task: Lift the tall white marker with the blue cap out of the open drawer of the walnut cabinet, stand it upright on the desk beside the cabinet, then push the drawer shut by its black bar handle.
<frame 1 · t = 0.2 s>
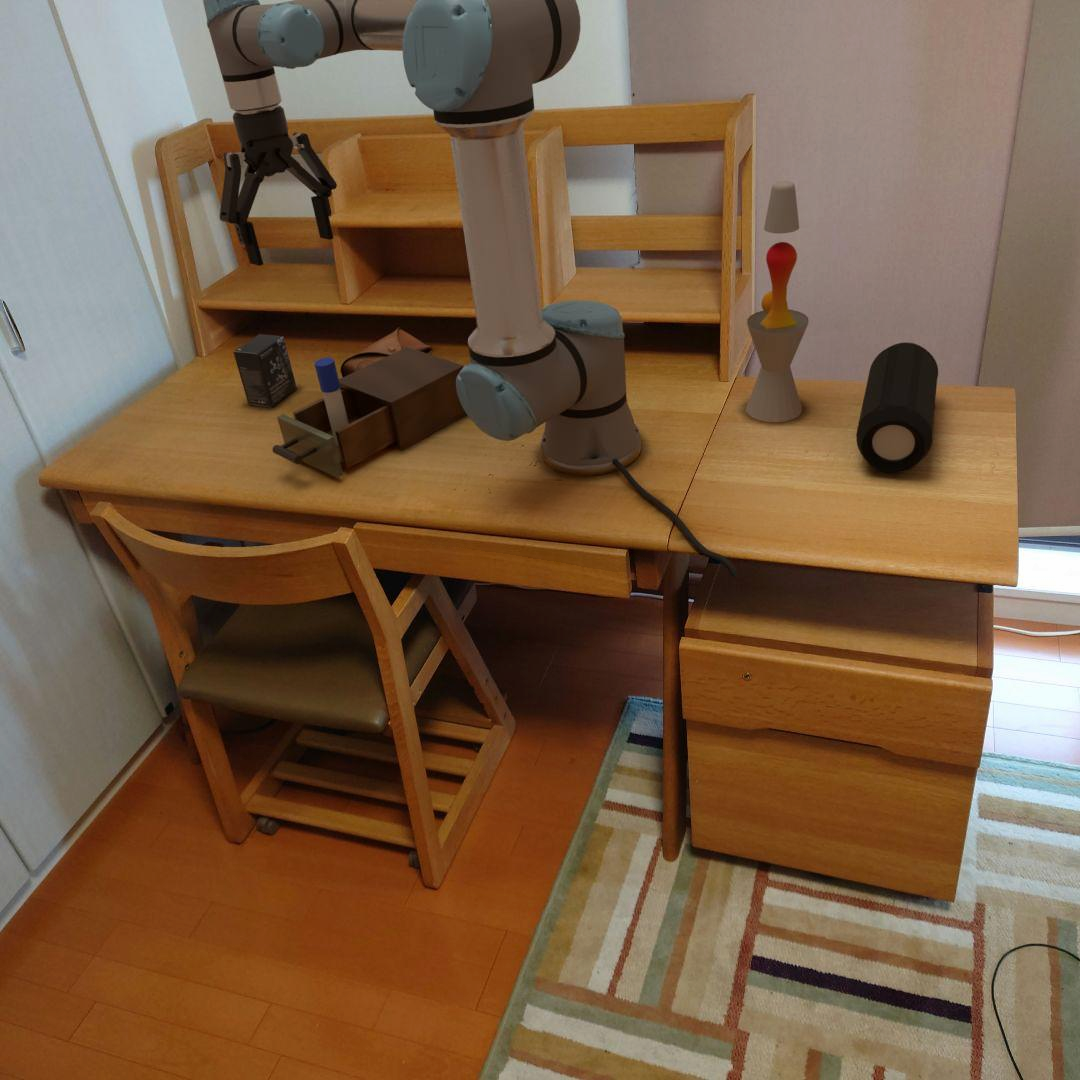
hand: (292, 250, 153), 28 cm above the table, tool pointing down, fingers open, 13 cm apart
marker: (344, 442, 154), point 2 cm above the table, touching drawer
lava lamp: (773, 410, 153), on the table
cabinet: (408, 419, 162), on the table
drawer: (333, 433, 151), point 4 cm above the table, slide at 11.0 cm, touching marker
portable speaker: (894, 435, 142), on the table
box: (273, 397, 175), on the table
sunglasses case: (389, 364, 182), on the table
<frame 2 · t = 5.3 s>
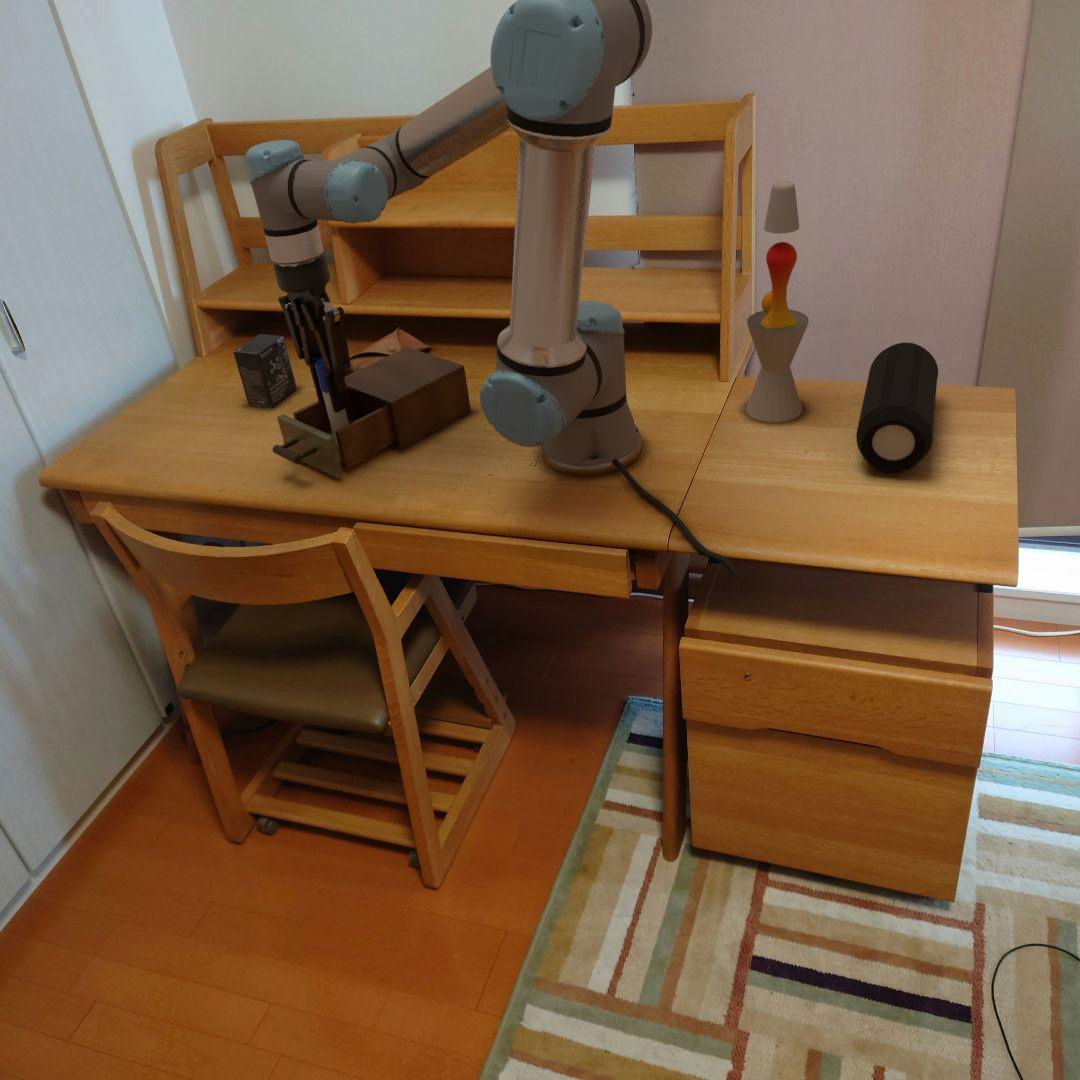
hand: (335, 405, 150), 9 cm above the table, tool pointing down, fingers closed on marker, 3 cm apart
marker: (344, 442, 154), point 2 cm above the table, touching drawer, gripper
everything else where it was.
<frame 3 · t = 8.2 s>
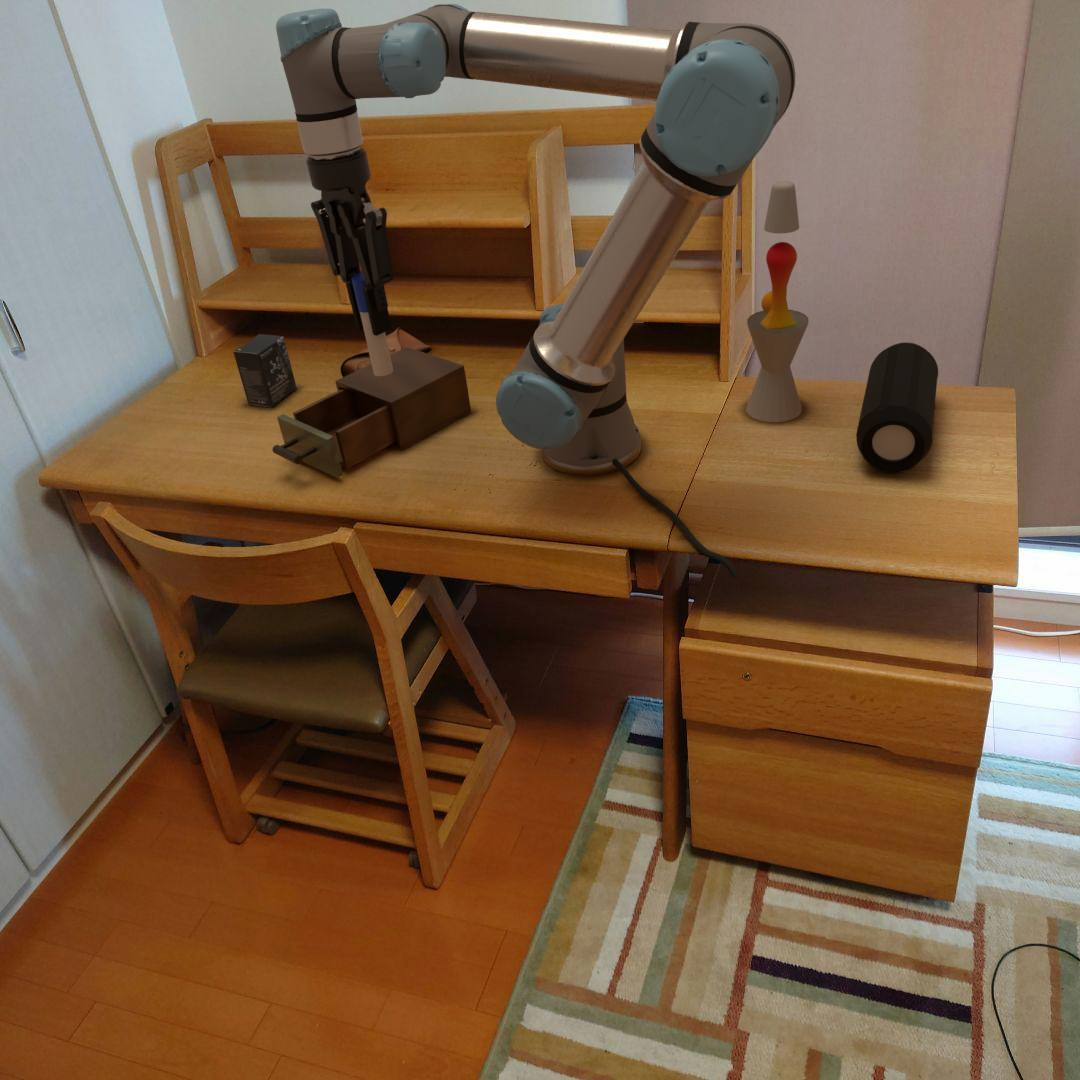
hand: (374, 328, 133), 24 cm above the table, tool pointing down, fingers closed on marker, 3 cm apart
marker: (383, 372, 136), point 18 cm above the table, touching gripper
drawer: (333, 433, 151), point 4 cm above the table, slide at 11.0 cm
everything else where it was.
when the fingers open (6 cm above the table, at t = 11.5 s): marker stays where it is, on the table.
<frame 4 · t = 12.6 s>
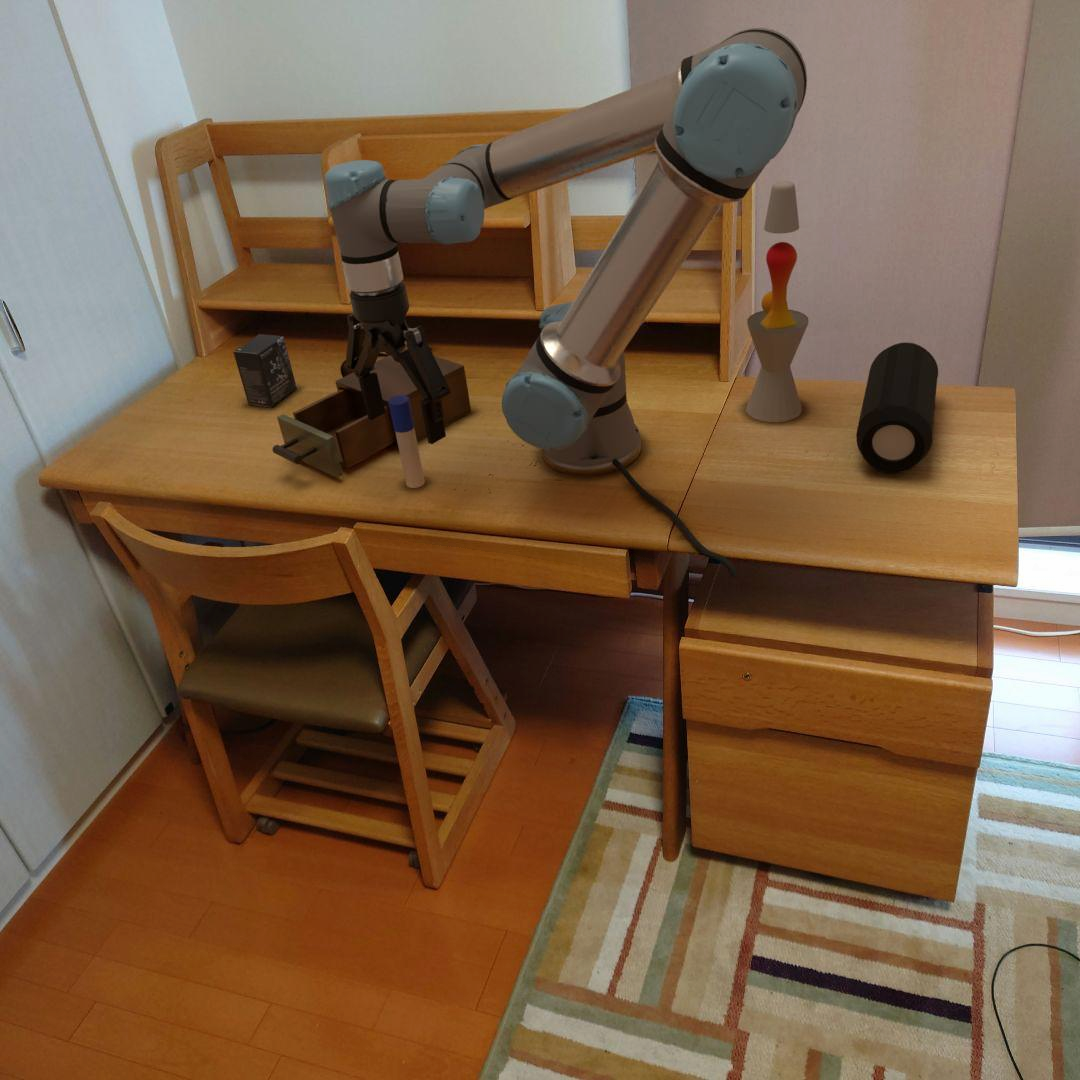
hand: (406, 427, 139), 10 cm above the table, tool pointing down, fingers open, 13 cm apart
marker: (415, 483, 145), on the table
everything else where it was.
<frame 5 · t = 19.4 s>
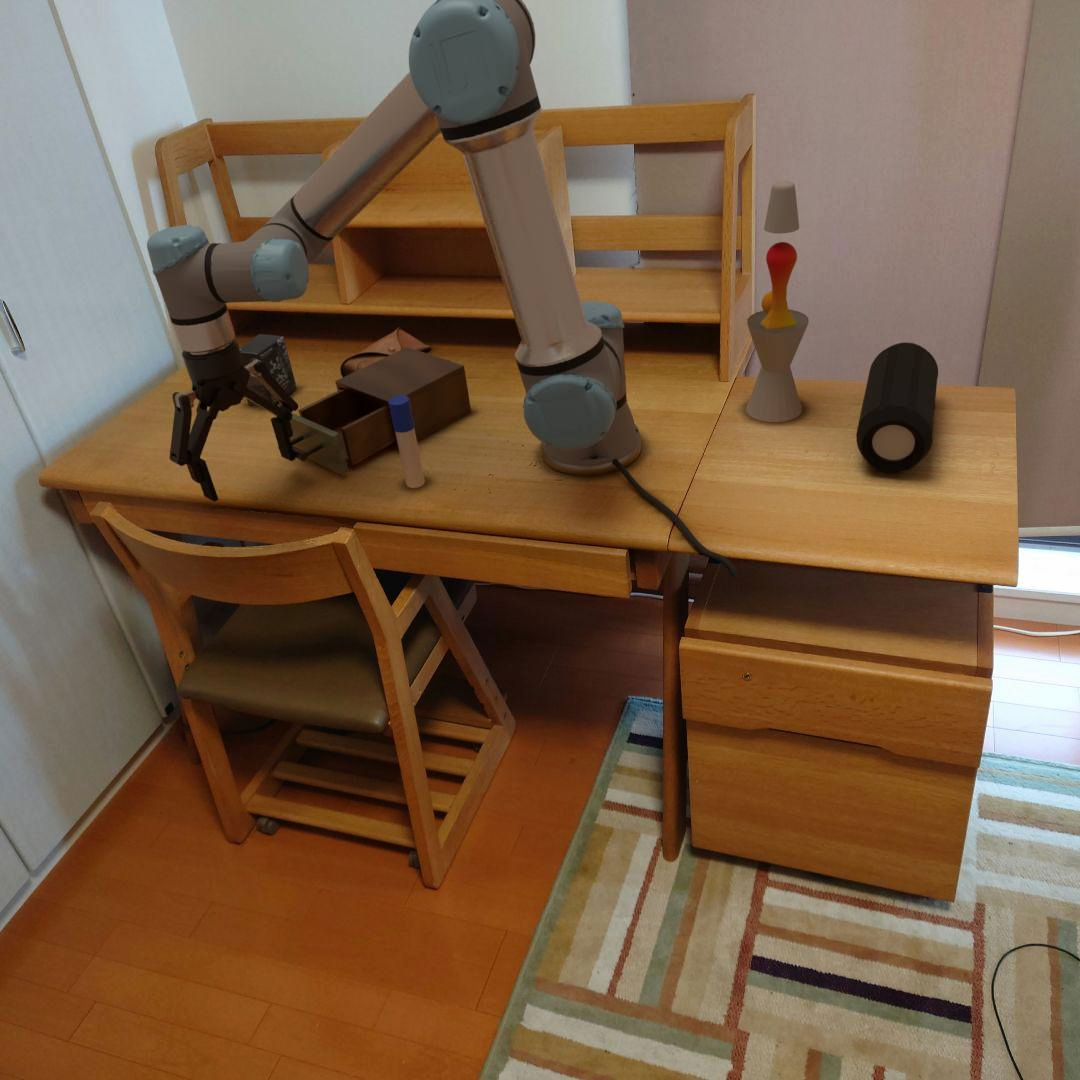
hand: (251, 477, 143), 4 cm above the table, tool pointing down, fingers open, 13 cm apart
drawer: (338, 430, 152), point 4 cm above the table, slide at 9.9 cm, touching gripper
everything else where it was.
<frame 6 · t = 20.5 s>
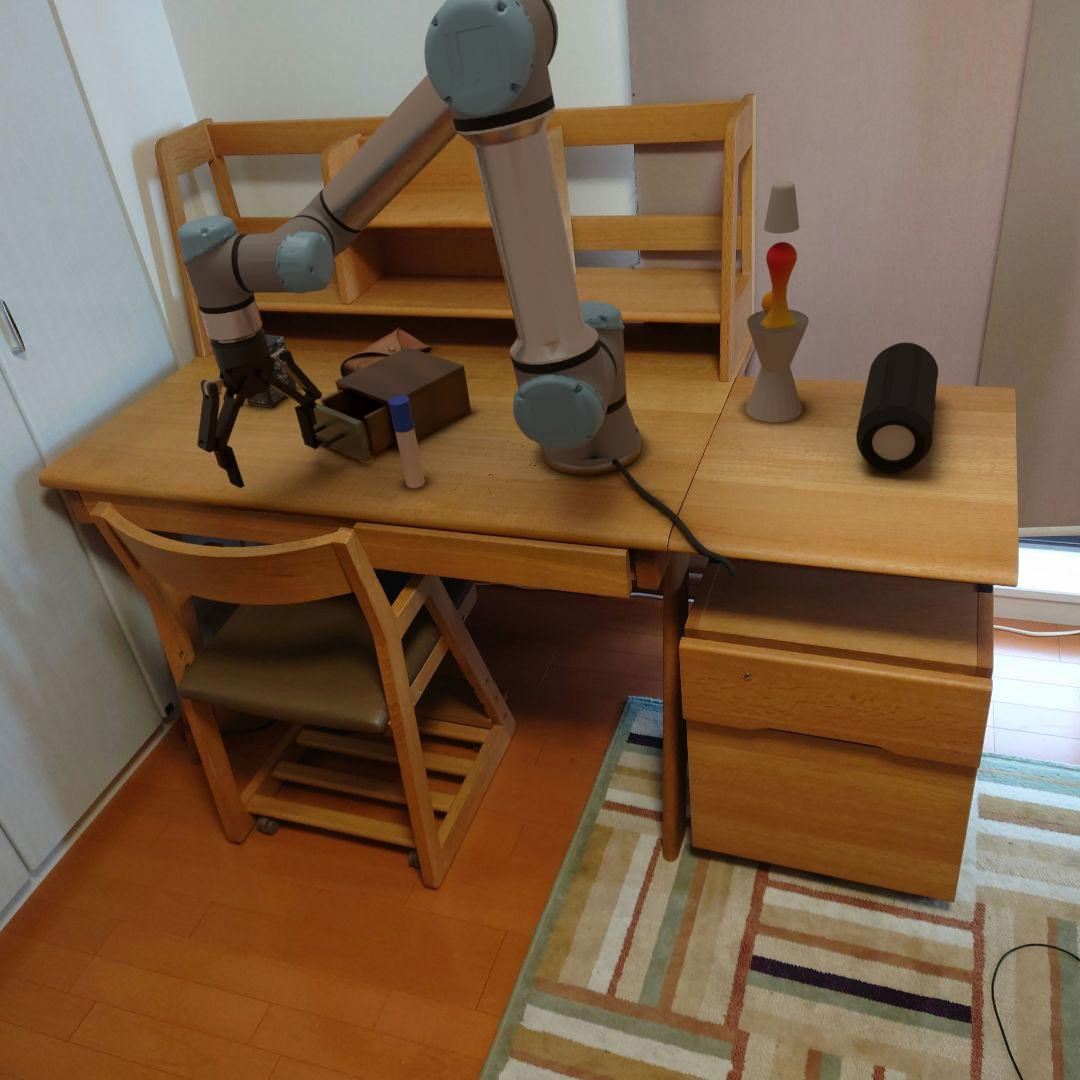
hand: (275, 465, 145), 4 cm above the table, tool pointing down, fingers open, 13 cm apart
drawer: (360, 419, 155), point 4 cm above the table, slide at 5.5 cm, touching gripper
everything else where it was.
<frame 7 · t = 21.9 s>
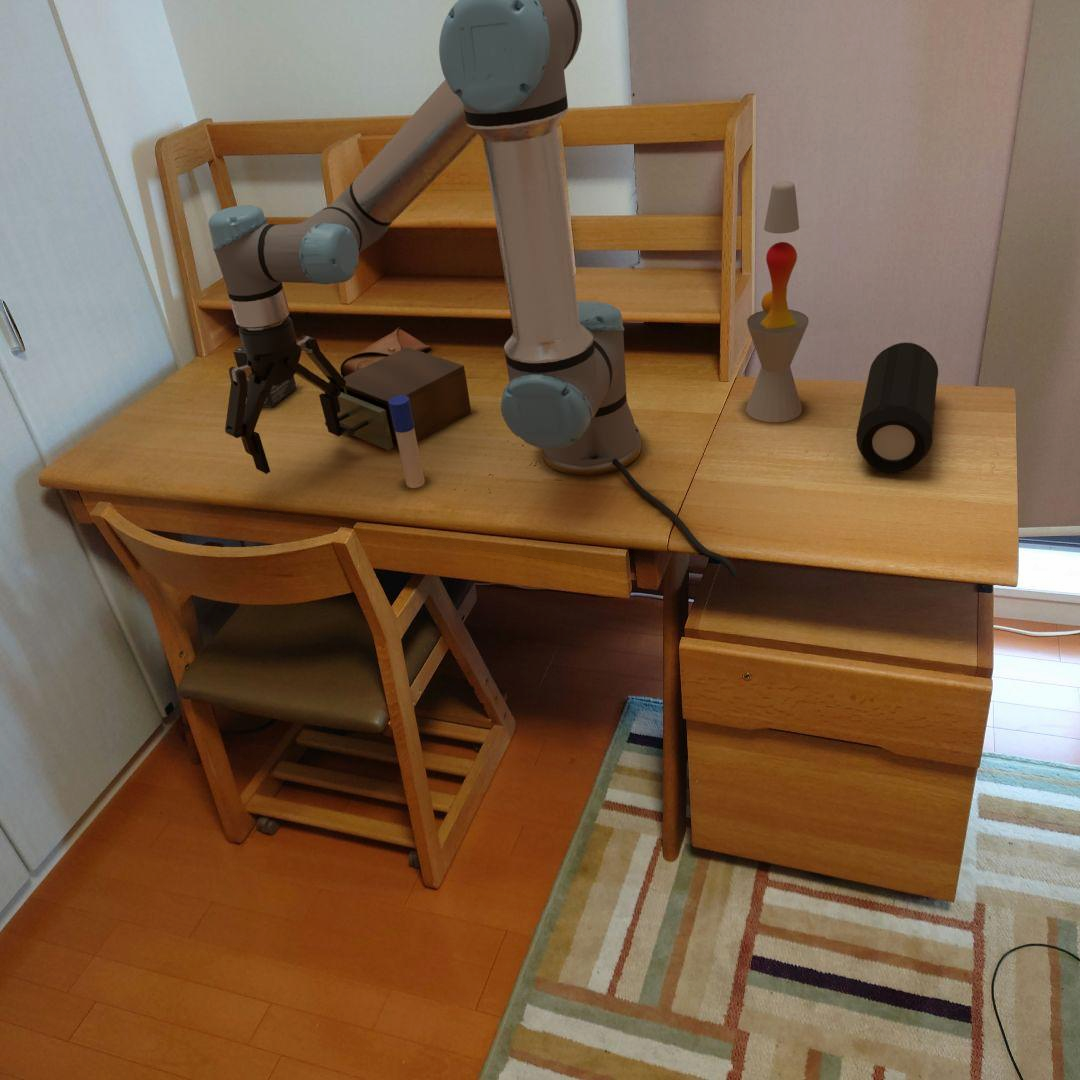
hand: (300, 451, 148), 4 cm above the table, tool pointing down, fingers open, 13 cm apart
drawer: (382, 408, 157), point 4 cm above the table, slide at 0.9 cm, touching gripper
everything else where it was.
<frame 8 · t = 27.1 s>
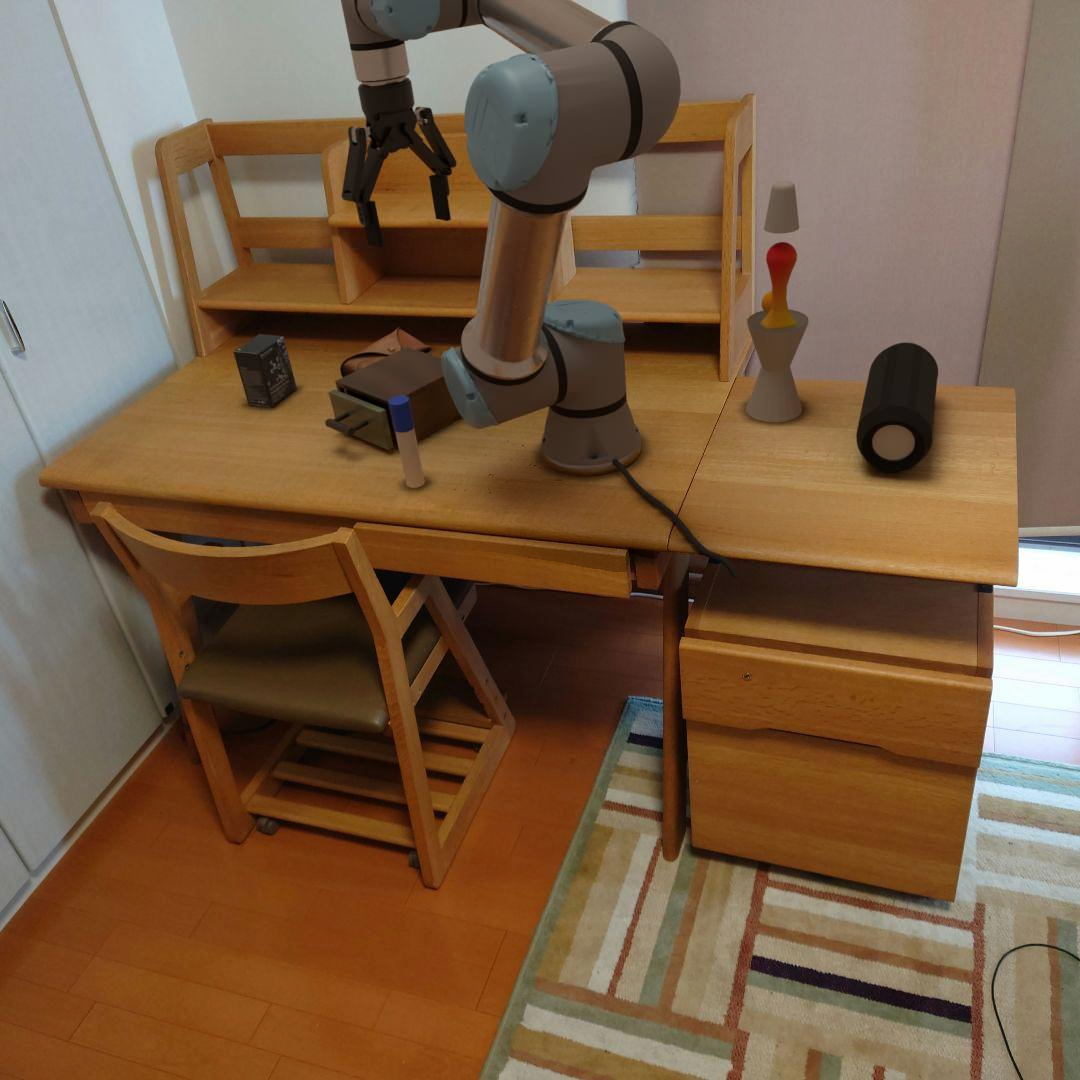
hand: (410, 232, 146), 31 cm above the table, tool pointing down, fingers open, 13 cm apart
drawer: (382, 408, 157), point 4 cm above the table, slide at 0.9 cm
everything else where it was.
at the end: marker inside the target area (0.1 cm from its centre), on the table; marker tilted 0°; drawer slide at 0.9 cm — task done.
